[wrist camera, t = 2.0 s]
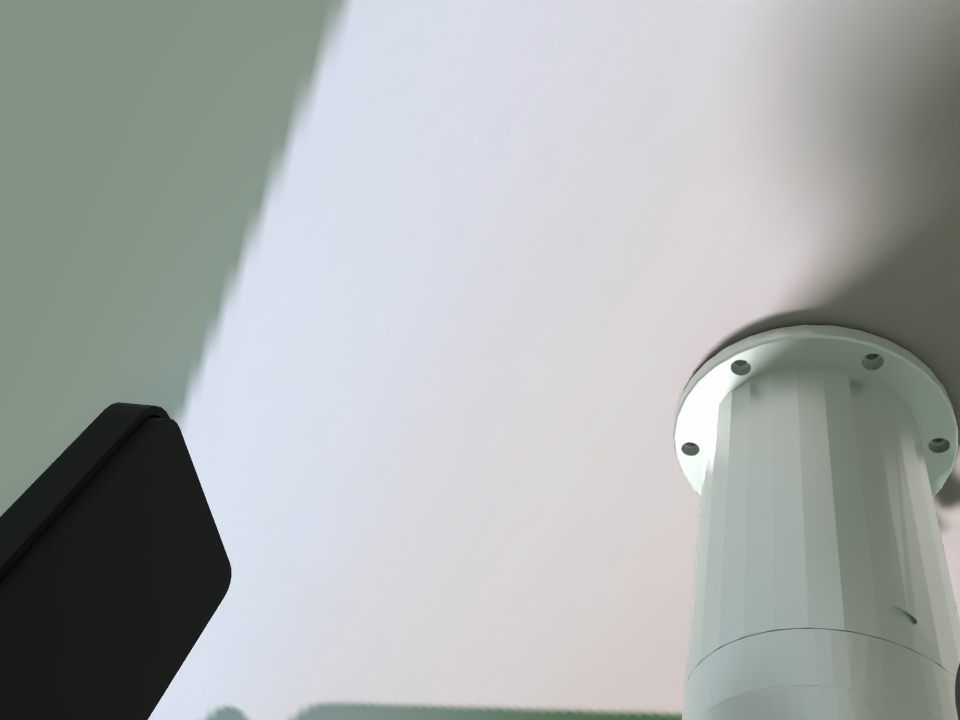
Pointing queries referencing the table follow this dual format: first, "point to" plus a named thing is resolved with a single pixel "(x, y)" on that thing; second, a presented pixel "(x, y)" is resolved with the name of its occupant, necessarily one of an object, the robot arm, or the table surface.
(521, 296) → the table surface
